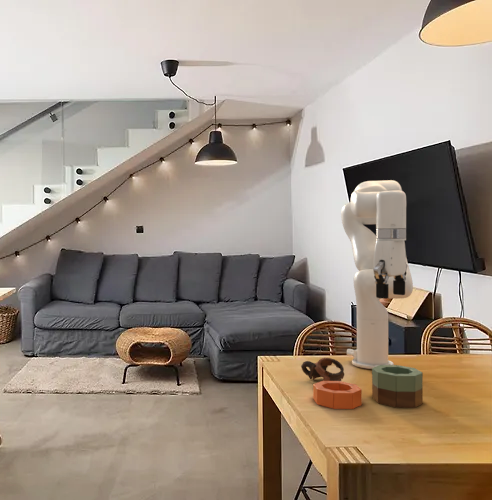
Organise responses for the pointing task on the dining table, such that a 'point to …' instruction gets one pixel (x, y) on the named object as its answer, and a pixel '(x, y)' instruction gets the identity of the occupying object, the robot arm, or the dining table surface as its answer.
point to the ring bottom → (397, 397)
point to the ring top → (337, 394)
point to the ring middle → (397, 378)
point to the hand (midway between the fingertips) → (390, 296)
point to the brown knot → (323, 369)
